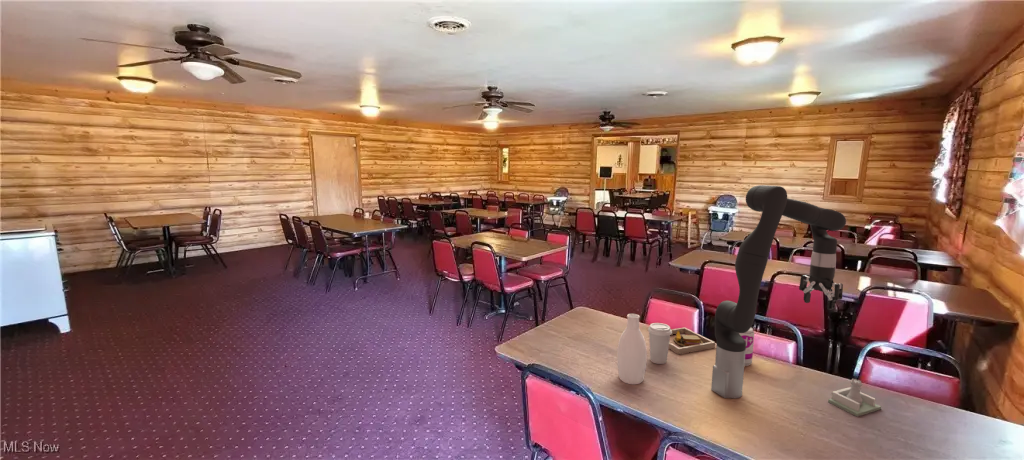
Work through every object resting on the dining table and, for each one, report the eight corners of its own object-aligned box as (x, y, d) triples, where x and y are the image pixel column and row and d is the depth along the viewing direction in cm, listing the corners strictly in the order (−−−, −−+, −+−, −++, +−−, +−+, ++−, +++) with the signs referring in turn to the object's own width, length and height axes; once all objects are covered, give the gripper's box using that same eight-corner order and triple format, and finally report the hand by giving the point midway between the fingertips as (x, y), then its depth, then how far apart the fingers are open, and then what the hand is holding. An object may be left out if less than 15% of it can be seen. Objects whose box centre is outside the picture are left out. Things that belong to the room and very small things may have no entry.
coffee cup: (645, 363, 172) (647, 329, 170) (647, 353, 181) (648, 321, 179) (670, 367, 169) (672, 332, 167) (670, 357, 178) (672, 324, 175)
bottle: (651, 378, 160) (654, 315, 157) (637, 389, 152) (640, 323, 148) (624, 369, 168) (626, 308, 164) (610, 379, 160) (612, 315, 156)
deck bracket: (857, 416, 135) (858, 406, 134) (828, 402, 143) (829, 392, 143) (880, 409, 139) (882, 399, 138) (851, 395, 147) (852, 386, 147)
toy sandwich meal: (701, 339, 196) (702, 330, 196) (704, 351, 184) (705, 341, 183) (673, 336, 200) (673, 326, 200) (674, 347, 188) (674, 337, 187)
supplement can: (754, 367, 168) (757, 332, 166) (732, 365, 170) (735, 330, 168) (747, 358, 176) (750, 324, 174) (726, 356, 178) (729, 323, 176)
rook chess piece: (841, 399, 143) (844, 377, 142) (853, 398, 144) (856, 376, 142) (853, 406, 139) (856, 384, 138) (866, 405, 139) (868, 383, 138)
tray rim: (678, 354, 180) (679, 349, 180) (650, 337, 198) (650, 332, 198) (714, 347, 187) (715, 342, 187) (684, 332, 205) (684, 327, 204)
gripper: (797, 261, 160) (793, 301, 163) (836, 269, 147) (831, 313, 150) (810, 259, 163) (806, 299, 165) (850, 267, 150) (845, 310, 152)
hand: (818, 306), depth 157 cm, fingers open, 8 cm apart
